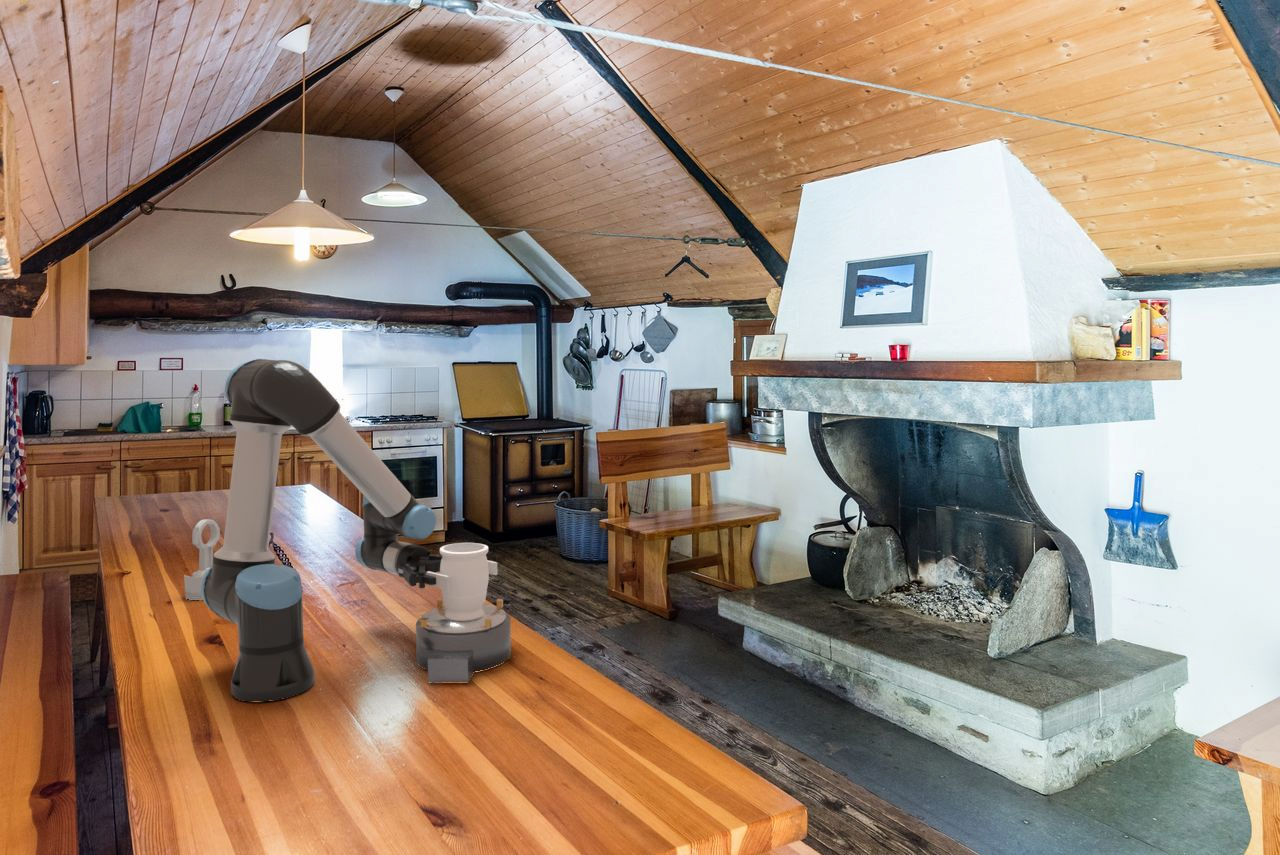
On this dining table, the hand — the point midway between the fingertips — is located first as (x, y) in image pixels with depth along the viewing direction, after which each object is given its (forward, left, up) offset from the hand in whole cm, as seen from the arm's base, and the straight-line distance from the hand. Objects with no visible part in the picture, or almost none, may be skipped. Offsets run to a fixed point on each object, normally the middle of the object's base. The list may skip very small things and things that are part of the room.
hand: (473, 575), depth 178 cm
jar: (+2, +2, -10) cm, 10 cm away
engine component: (+45, +82, -19) cm, 95 cm away
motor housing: (0, +3, -18) cm, 19 cm away
